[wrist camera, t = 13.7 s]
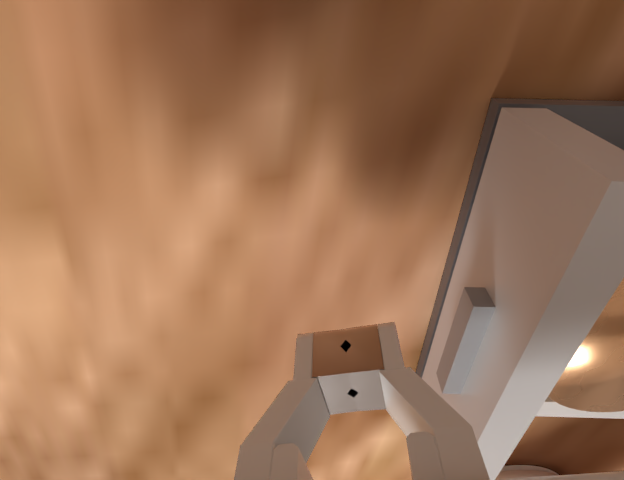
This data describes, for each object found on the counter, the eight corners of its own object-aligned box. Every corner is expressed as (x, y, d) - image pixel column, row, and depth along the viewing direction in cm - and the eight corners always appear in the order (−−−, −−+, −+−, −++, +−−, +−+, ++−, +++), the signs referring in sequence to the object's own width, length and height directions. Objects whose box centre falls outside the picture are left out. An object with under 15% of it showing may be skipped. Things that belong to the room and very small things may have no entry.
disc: (490, 362, 15) (512, 409, 13) (547, 235, 11) (586, 278, 10) (644, 365, 15) (685, 414, 13) (747, 240, 11) (821, 283, 10)
